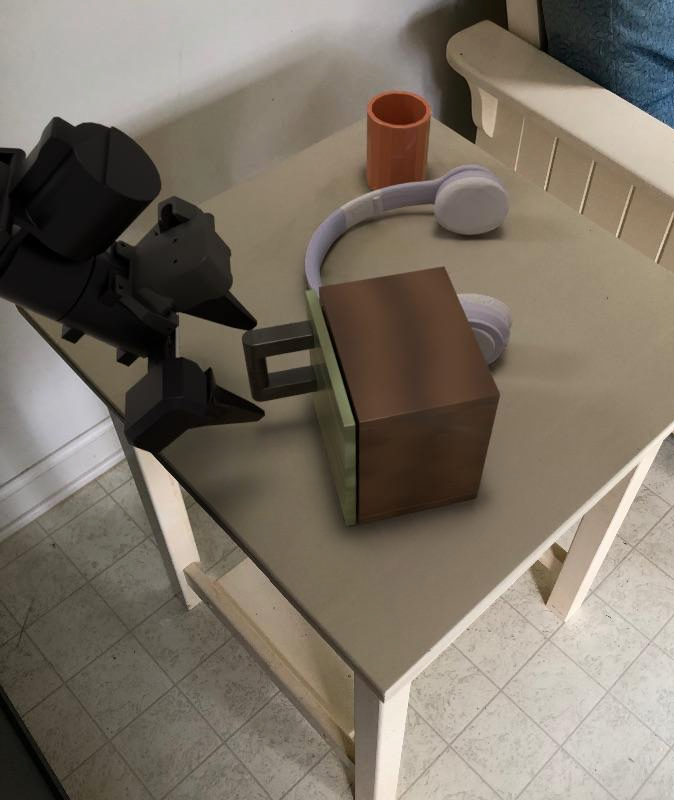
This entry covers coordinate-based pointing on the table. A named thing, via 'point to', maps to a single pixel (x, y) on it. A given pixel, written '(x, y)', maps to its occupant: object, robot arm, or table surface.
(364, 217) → the headphones
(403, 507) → the cupboard
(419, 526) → the table surface
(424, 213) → the table surface
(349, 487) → the door
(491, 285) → the table surface
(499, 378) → the table surface
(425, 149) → the cup
